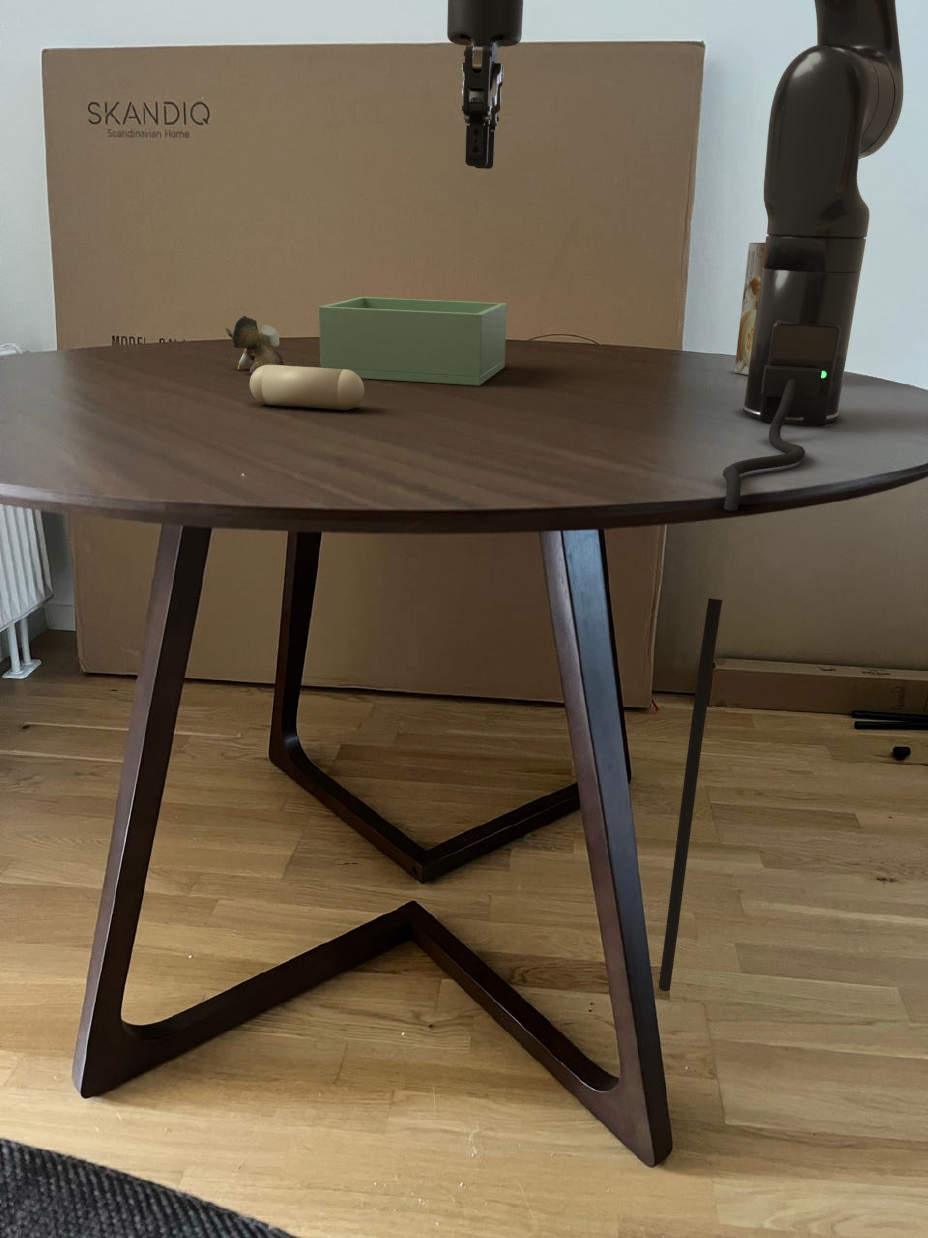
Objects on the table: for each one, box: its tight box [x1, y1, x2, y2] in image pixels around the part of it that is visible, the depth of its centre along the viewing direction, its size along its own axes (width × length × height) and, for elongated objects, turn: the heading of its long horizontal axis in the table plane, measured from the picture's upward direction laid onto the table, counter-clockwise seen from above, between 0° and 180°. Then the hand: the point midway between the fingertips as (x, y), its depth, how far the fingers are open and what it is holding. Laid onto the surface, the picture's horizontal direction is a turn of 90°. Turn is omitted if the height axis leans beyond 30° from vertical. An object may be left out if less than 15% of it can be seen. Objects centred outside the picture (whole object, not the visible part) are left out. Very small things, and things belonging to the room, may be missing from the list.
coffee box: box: [733, 242, 765, 376], centre depth 124 cm, size 9×6×16 cm
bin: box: [318, 296, 508, 387], centre depth 123 cm, size 16×20×8 cm
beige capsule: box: [249, 364, 365, 411], centre depth 100 cm, size 4×12×4 cm, turn 77°
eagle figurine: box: [224, 315, 285, 374], centre depth 122 cm, size 8×7×9 cm
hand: (479, 167), depth 105 cm, fingers open, 8 cm apart
